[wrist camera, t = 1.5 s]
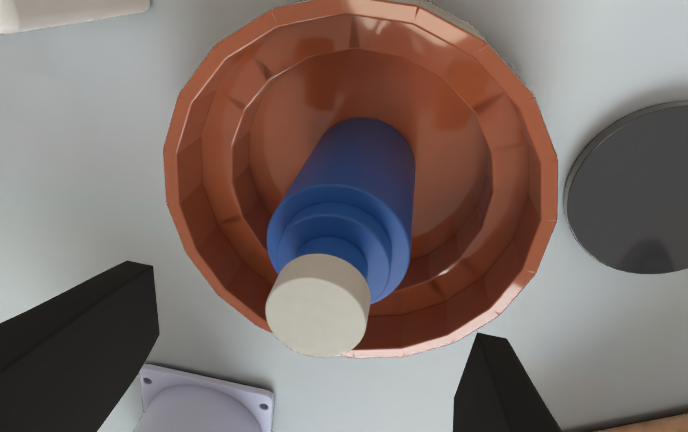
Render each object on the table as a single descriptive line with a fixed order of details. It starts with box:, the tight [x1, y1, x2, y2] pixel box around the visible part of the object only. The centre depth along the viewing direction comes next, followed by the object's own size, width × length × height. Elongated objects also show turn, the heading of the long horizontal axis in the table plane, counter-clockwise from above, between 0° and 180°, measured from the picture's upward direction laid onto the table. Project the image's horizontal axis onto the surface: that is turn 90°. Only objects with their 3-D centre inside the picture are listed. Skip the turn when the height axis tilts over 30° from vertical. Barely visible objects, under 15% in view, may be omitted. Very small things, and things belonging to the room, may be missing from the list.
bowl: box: [163, 0, 558, 358], centre depth 18 cm, size 13×13×4 cm
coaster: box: [564, 101, 688, 274], centre depth 18 cm, size 7×7×1 cm
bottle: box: [265, 117, 415, 358], centre depth 15 cm, size 4×4×10 cm
